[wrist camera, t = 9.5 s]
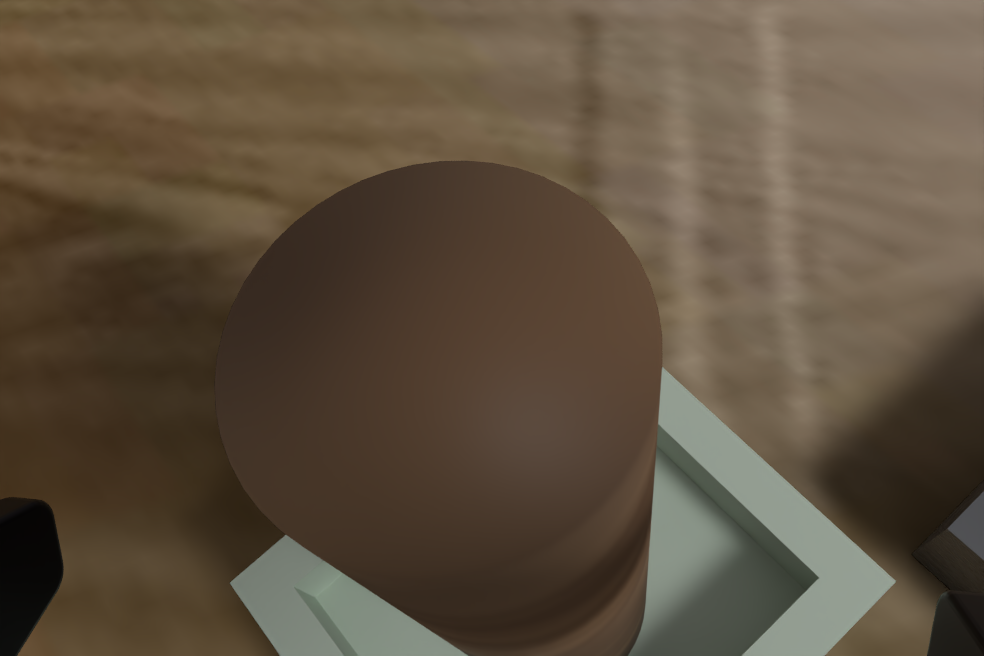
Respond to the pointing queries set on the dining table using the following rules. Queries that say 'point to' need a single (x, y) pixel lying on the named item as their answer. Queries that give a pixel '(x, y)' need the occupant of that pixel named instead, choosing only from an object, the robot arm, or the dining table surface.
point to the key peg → (456, 404)
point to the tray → (671, 567)
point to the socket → (958, 546)
